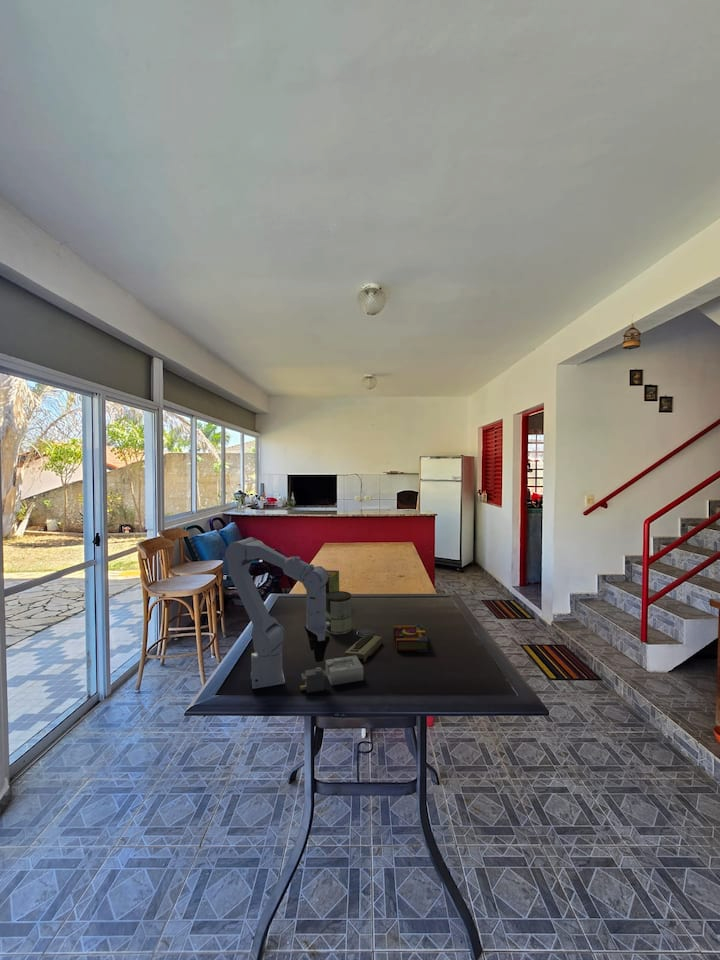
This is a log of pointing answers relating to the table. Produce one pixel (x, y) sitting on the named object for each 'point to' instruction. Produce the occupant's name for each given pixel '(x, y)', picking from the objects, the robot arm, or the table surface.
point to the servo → (313, 680)
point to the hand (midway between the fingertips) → (316, 655)
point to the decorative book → (410, 638)
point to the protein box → (332, 581)
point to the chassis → (344, 670)
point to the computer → (364, 647)
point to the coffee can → (338, 612)
